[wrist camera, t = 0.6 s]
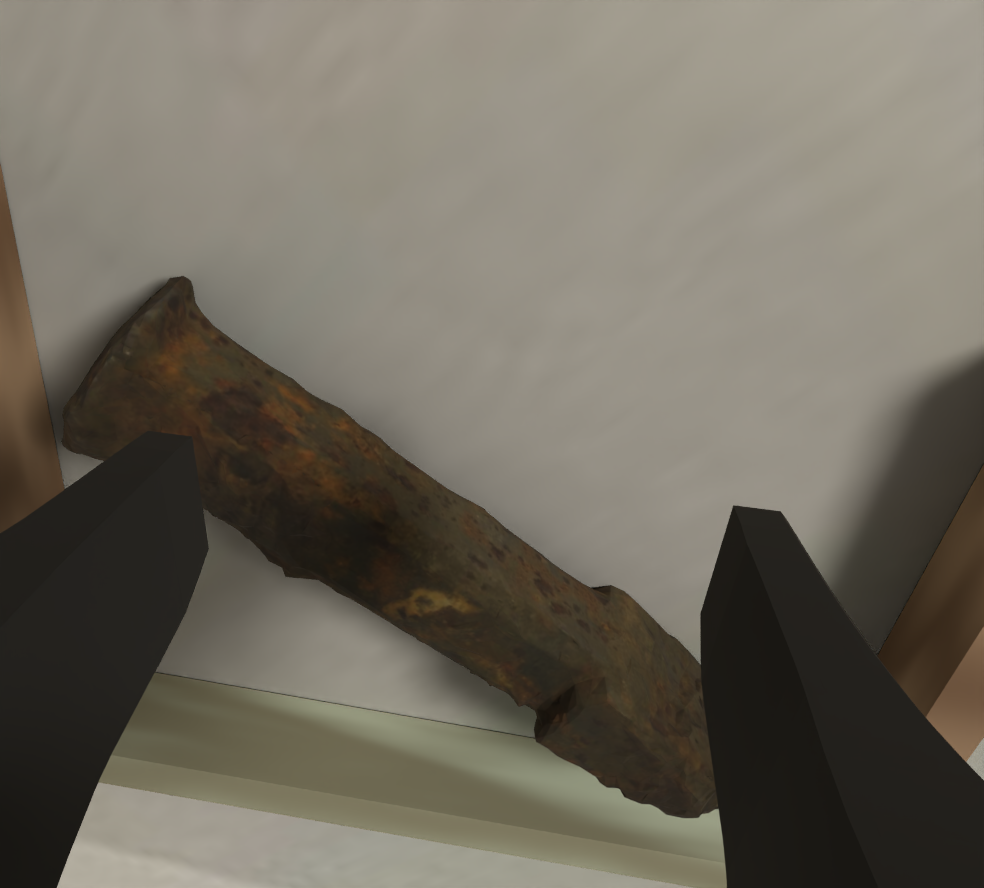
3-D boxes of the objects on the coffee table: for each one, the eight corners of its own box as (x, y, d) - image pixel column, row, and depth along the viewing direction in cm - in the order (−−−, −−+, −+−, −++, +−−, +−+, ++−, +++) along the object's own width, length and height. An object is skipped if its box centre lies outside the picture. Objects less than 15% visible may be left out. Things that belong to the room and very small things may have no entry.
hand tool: (105, 357, 23) (3, 476, 19) (185, 244, 21) (88, 354, 17) (657, 734, 29) (661, 881, 25) (762, 676, 27) (783, 826, 23)
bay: (837, 821, 30) (856, 916, 27) (58, 685, 30) (9, 766, 28) (1144, 322, 19) (1219, 405, 16) (-77, 123, 19) (-177, 176, 17)
